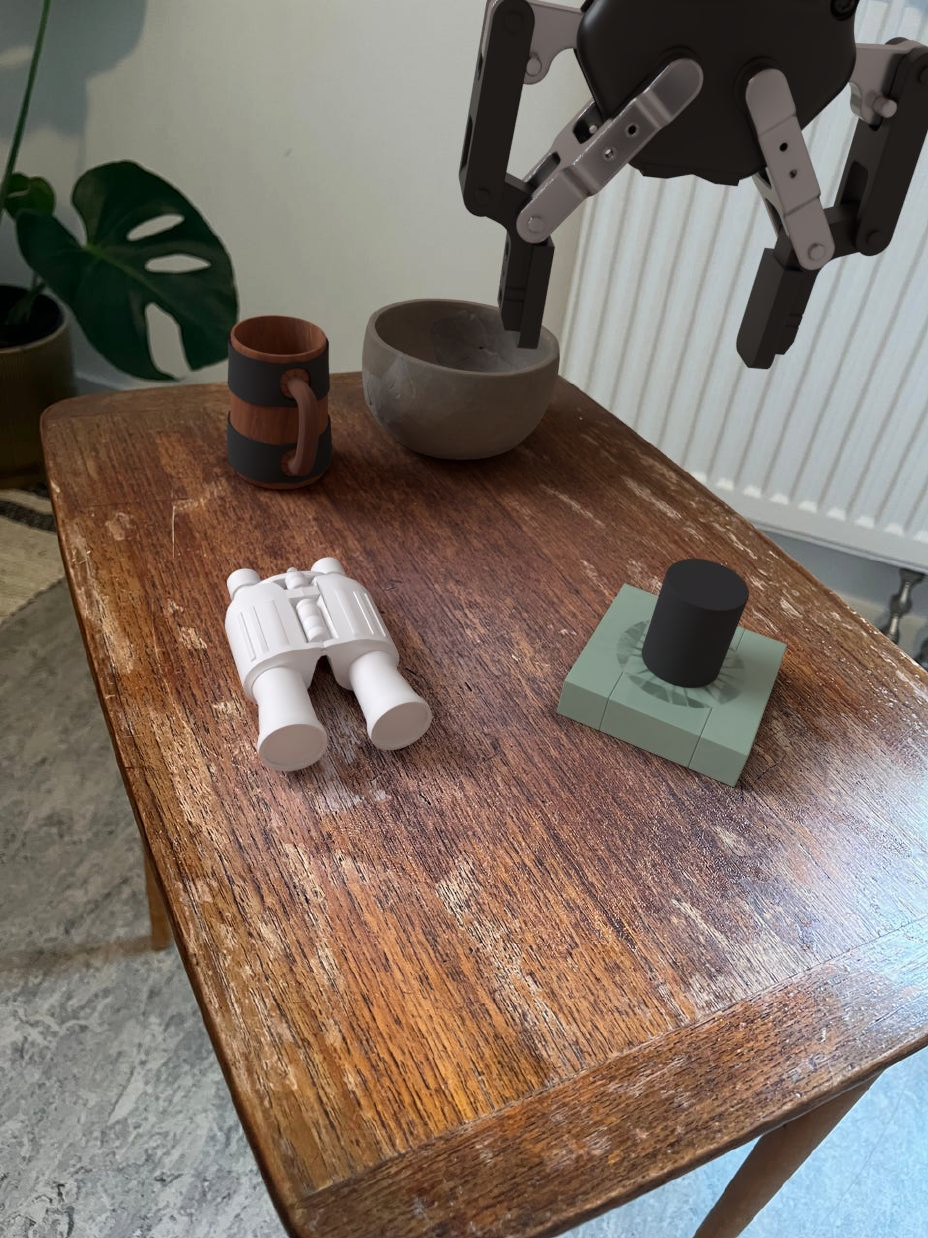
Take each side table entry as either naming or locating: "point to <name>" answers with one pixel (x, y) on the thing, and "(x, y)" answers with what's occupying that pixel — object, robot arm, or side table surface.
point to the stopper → (694, 622)
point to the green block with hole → (671, 693)
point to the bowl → (455, 378)
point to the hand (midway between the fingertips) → (639, 350)
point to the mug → (278, 402)
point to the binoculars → (288, 652)
